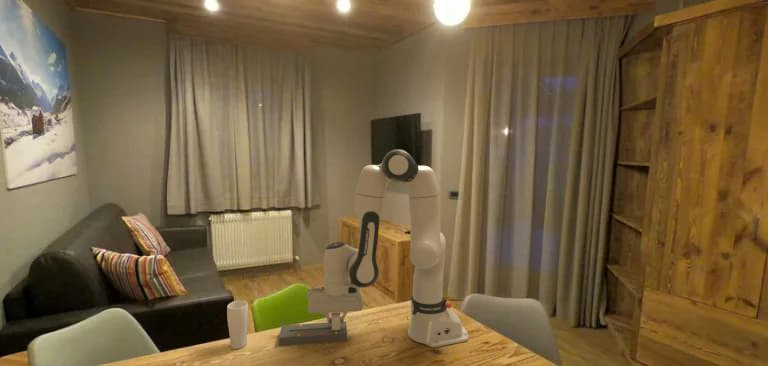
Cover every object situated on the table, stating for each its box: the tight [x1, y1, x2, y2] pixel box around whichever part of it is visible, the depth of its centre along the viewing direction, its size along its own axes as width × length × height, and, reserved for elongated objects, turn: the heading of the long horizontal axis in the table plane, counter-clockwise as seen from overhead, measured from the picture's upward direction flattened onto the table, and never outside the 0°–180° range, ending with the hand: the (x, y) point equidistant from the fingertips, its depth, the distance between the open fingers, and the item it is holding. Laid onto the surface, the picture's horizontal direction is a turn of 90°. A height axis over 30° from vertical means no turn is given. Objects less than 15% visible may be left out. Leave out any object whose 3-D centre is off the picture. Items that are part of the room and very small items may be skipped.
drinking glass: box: [226, 300, 249, 350], centre depth 126 cm, size 7×7×15 cm
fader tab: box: [331, 312, 341, 330], centre depth 134 cm, size 3×5×5 cm, turn 9°
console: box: [278, 320, 348, 347], centre depth 133 cm, size 24×9×3 cm, turn 99°
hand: (335, 322), depth 134 cm, fingers closed on fader tab, 3 cm apart
